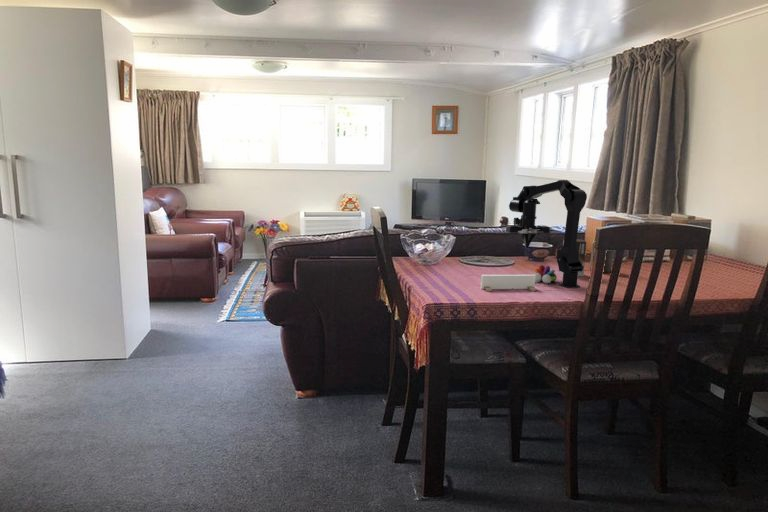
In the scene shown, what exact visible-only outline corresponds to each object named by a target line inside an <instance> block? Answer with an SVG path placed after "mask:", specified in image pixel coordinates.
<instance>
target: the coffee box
mask: <svg viewBox="0 0 768 512" xmlns="http://www.w3.org/2000/svg"><path fill="white" fill-rule="evenodd" d="M563 244H564V238H563V240H562V245H563ZM576 248H577V250H578V253H579V261H580V262H581V264H582V265H583V267H584V268H583V270H582V271H580V272H578V277H584V275H585V266H586V265H585V261H586V250H587V241H586V240H585V239H578V238H577V241H576ZM560 274H562V276H563V272H561V271H560Z"/></svg>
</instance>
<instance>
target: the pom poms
mask: <svg viewBox="0 0 768 512" xmlns="http://www.w3.org/2000/svg"><path fill="white" fill-rule="evenodd" d="M534 272H535V273H533V275H536V278H535V283H540V282H541V281H542V283H544V284H546V283H547V284H546V285H548V283H549V284H551V283H552V282H551V281H554V282H556V280H557V279H558V278H557V274H556V273H555V272H556V270H555V269H552V270H551V267H550V265H546V266H544V265H542V264H540V266H539V268H535V269H534Z"/></svg>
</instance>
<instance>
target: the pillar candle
mask: <svg viewBox="0 0 768 512" xmlns="http://www.w3.org/2000/svg"><path fill="white" fill-rule="evenodd" d="M594 242H595V241H592V244H591V245H592V246H591V254H590V264H589V271H591V266H592V261H593V256H594ZM613 259H614V251H607V253H606V260H605V266H604V273H603V274H610V271H611V272H612V270H611V267H612V268H613Z"/></svg>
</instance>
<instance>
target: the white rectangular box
mask: <svg viewBox="0 0 768 512" xmlns="http://www.w3.org/2000/svg"><path fill="white" fill-rule="evenodd" d="M535 278H536V275H534V274H481V275H480V289H481V288H482V289H481V290H485V291H486V292H492V291H493V290H528V291H530V290H531V292H536V291H537V288H536V282H535ZM512 288H513V289H512Z"/></svg>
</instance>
